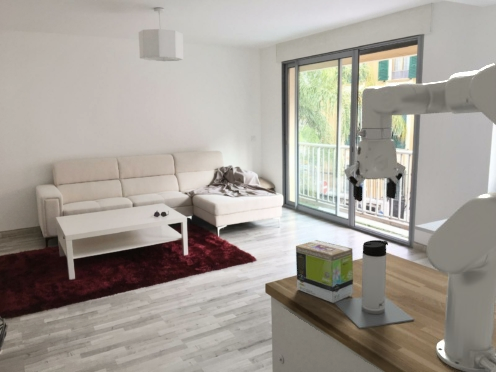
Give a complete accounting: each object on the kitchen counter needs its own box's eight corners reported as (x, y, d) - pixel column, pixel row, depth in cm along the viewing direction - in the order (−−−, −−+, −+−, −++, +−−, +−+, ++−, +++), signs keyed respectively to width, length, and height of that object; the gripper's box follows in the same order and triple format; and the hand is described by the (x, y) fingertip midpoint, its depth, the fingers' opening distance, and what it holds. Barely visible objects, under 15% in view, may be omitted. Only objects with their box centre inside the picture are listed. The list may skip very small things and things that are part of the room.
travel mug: (387, 315, 113) (389, 245, 110) (362, 314, 114) (363, 244, 111) (384, 305, 119) (386, 238, 116) (360, 303, 120) (362, 237, 117)
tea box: (354, 294, 127) (353, 247, 125) (332, 304, 121) (331, 255, 118) (317, 281, 138) (316, 238, 136) (295, 289, 132) (294, 245, 130)
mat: (414, 320, 111) (414, 319, 111) (359, 328, 108) (359, 327, 107) (382, 295, 126) (382, 294, 126) (333, 302, 123) (333, 301, 123)
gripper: (352, 137, 103) (351, 204, 106) (414, 134, 107) (411, 199, 110) (339, 135, 110) (338, 198, 113) (397, 133, 114) (395, 194, 117)
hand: (374, 199), depth 111 cm, fingers open, 9 cm apart
